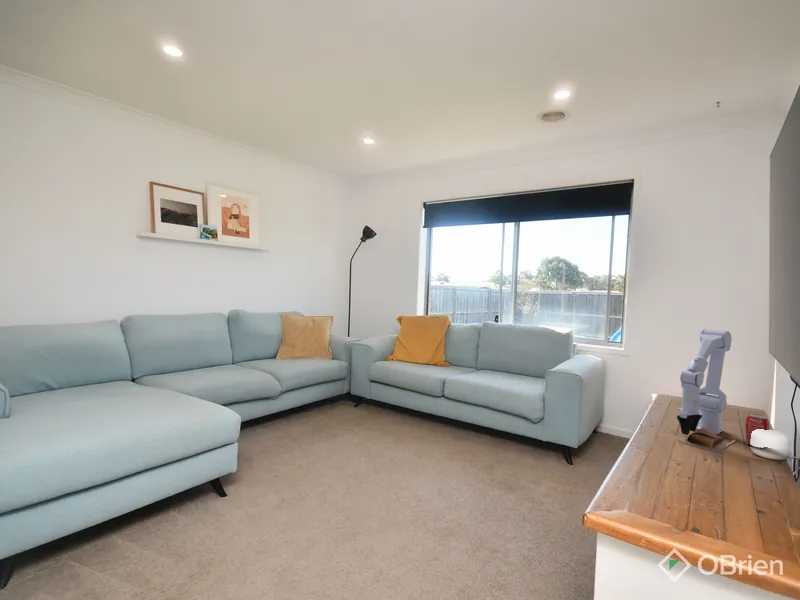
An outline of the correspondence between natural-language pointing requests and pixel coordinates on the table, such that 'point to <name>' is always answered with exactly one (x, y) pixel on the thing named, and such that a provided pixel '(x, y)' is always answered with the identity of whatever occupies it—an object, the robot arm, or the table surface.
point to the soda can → (755, 425)
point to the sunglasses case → (704, 438)
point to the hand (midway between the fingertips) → (688, 432)
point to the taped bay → (709, 449)
